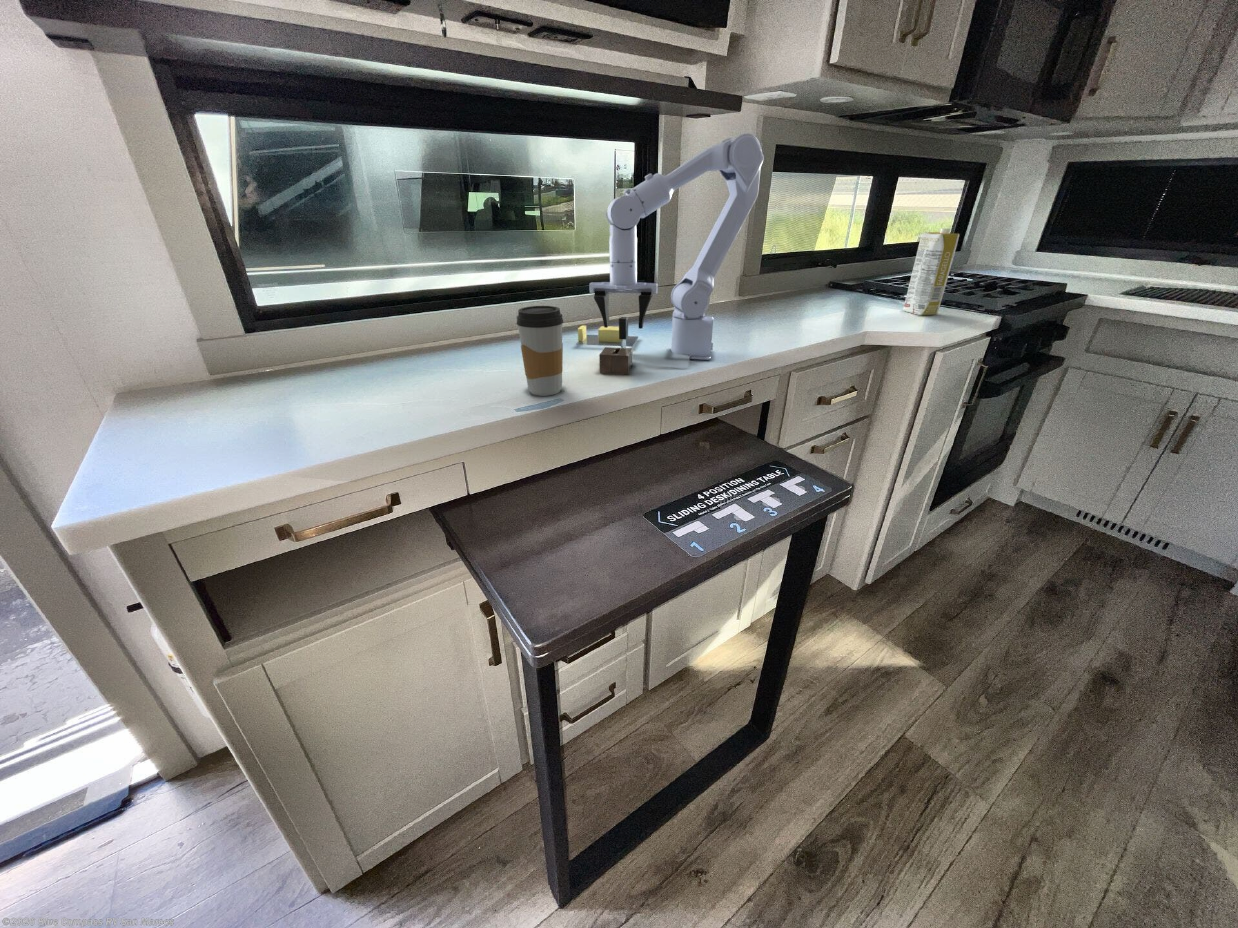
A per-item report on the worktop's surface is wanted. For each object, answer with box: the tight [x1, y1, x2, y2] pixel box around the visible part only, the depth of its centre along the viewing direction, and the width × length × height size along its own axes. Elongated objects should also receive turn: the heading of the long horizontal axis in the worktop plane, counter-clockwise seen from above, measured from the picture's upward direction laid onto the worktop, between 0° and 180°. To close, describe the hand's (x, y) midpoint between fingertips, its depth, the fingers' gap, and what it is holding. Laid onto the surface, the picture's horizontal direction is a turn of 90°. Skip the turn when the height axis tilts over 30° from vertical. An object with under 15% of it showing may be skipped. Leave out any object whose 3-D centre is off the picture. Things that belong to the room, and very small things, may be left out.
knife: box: [618, 316, 629, 348], centre depth 113 cm, size 2×3×9 cm, turn 164°
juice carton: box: [902, 227, 960, 316], centre depth 153 cm, size 9×8×24 cm
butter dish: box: [576, 334, 639, 348], centre depth 127 cm, size 14×10×1 cm
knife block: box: [598, 346, 634, 376], centre depth 107 cm, size 6×6×4 cm
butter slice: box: [577, 325, 587, 342], centre depth 127 cm, size 1×4×3 cm, turn 170°
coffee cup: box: [516, 305, 564, 397], centre depth 93 cm, size 8×8×15 cm
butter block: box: [597, 325, 622, 343], centre depth 125 cm, size 6×4×3 cm, turn 80°
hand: (623, 327), depth 112 cm, fingers open, 7 cm apart
